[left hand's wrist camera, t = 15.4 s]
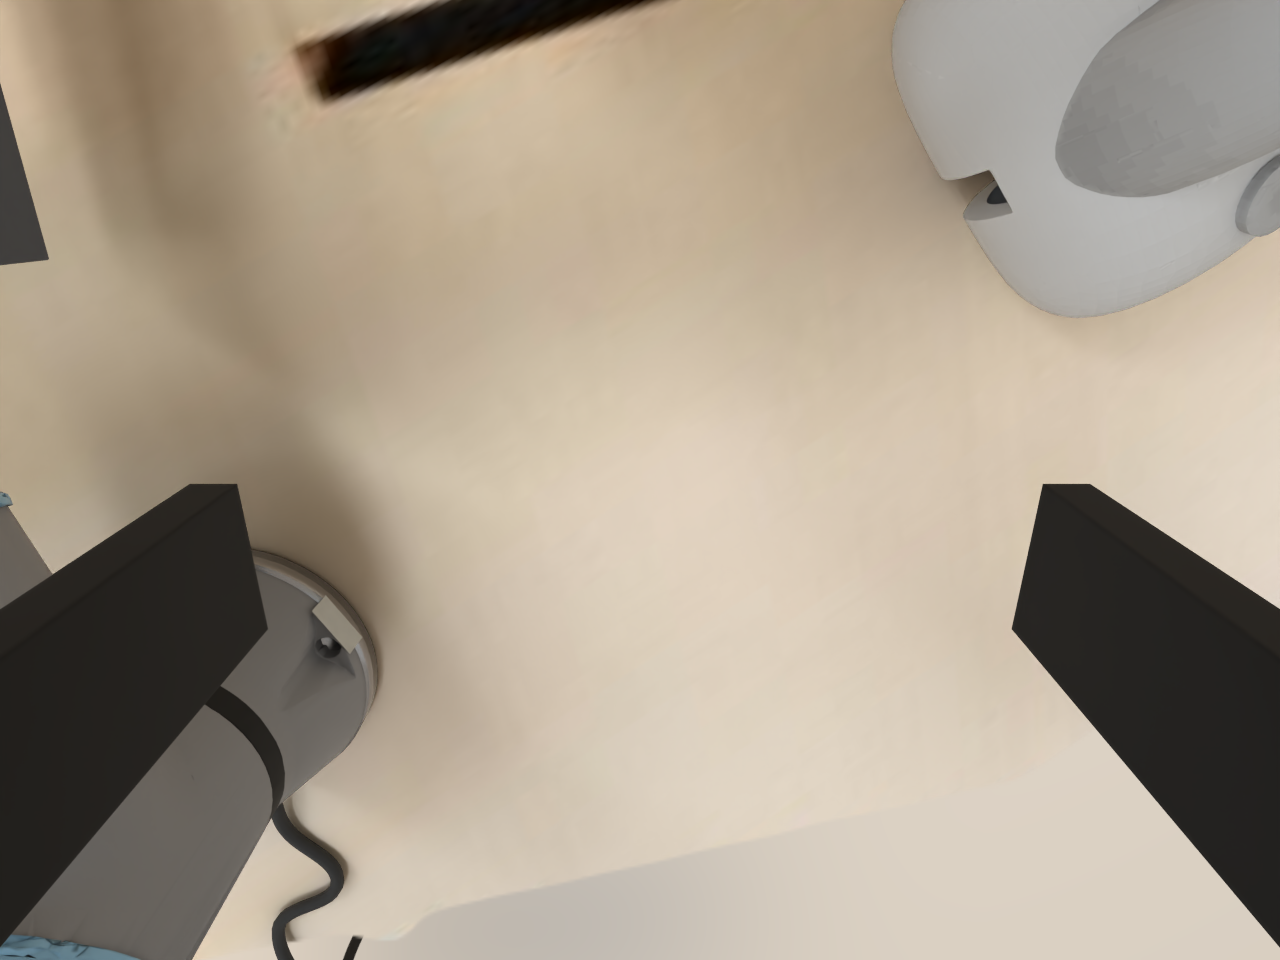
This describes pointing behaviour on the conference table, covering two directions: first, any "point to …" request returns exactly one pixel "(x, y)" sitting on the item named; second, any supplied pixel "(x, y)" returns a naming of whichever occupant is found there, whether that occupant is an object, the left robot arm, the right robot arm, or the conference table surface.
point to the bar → (16, 202)
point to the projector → (1100, 136)
